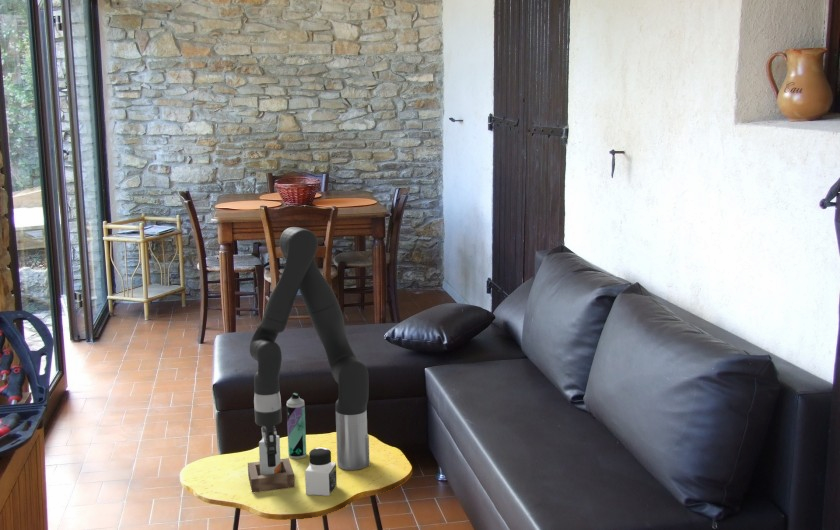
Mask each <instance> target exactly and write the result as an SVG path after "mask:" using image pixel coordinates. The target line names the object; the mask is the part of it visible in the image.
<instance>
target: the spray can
mask: <svg viewBox="0 0 840 530" xmlns="http://www.w3.org/2000/svg"><path fill="white" fill-rule="evenodd" d="M305 406H306V405H305V400H304V399H303V398H300V396H299V393H297V392H293V393H292V395H291V397H290V398H289V399H288V400H286V427H287V446H288V447H287V449H288V458H289V459H295V460H296V459H299V460H300V459H303V458H306V456H307V435H306V409H305Z"/></svg>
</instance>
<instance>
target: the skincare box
mask: <svg viewBox="0 0 840 530" xmlns="http://www.w3.org/2000/svg"><path fill="white" fill-rule="evenodd" d="M280 438H281V437H280V435H278V434H277V435H276V441H277V445H276V451H277V453H276V454H275V458H276V466H275V467H268V460H267V454H266V452H267V449H266V447H265V446H264V437H263V438H261V440H260V441H259V442H258V451H259V452H258V456H259V462H260V475H268V474H276V473H281V464H280V459H281V446H280V445H281V442H280ZM266 443H267V441H266ZM269 450H274V449H273V447H270V448H269Z"/></svg>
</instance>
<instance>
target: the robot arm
mask: <svg viewBox="0 0 840 530" xmlns="http://www.w3.org/2000/svg"><path fill="white" fill-rule="evenodd" d="M318 246H319V243H318V238H317V236H316V235H315V234H314V233H313V232H312V231H311V230H309V229H306V228H302V227H300V226H299V227H298V226H291V227H288V228H286V229H285V230H283V232H282V233H281V234H280V238H279V249H280V251H281V253H282V255H283V257H284V258H285V260H286V261H285V264H284V268H283V270H282V273H281V275H280V278H279V280H278V282H277V284H276V285H275V287H274V289H273V290H272V291H271V293H270V296H269V298H268V301H267V302H266V305H265V308H264V312H263V314H262V315H263V316H262V318H261V322H260V323H259V325H258V327H257V329H256V330H255V331H254V333H253V336H252V338H251V340H250V344H249V354H250V356H251V357H252V359H254V360H255V361H257V363H258V365H257V366H258V367H257V371H256V372H255V373H254V376H253V387H254V388H253V389H254V397H253V404H254V405H253V406H254V422H255V425H257V426H259V427H261V437H262V438H263V437H264V446H265V447H266V449H267V452H266V454H267V460H268V467H275V466H276V458H275V454H276V453H277V451H276V445H277V441H276V435H278V433H277V429H276V426H277V425H279V424H280V423H282V420H283V416H282V414H283V413H282V402H281V401H282V398H281V393H280V372H281V366H282V359H283V358H282V350H281V347H280V345H279V344H278V343H277V342H276V339H277V338H278V336H279V333H283V332H284V331H285V329H286V327H287V325H288V321H289V319H290V316H291V312H292V310H293V309H292V308H293V306H294V304H295V301H296V297H297V295H298V292H300V294H301V295H300V296H301V298H302V300H303V303H304V306H305V308H306V312H307V314H308V317H309V319H310V321H311V324H312V325H313V328H314V330H315V332H316V334H317V336H318V339H319V340H320V342H321V343H322V346H323V348H324V351H325V355H326V358H327V361H328V365H329V368H330V373H331V375H332V378H333V380H334V381H335V382H336V384H338V398H337V400H336V401H335V426H336V427H335V428H336V429H335V431H336V432H335V433H336V461H337V462H336V466H337V467H338V468H340V469H342V470H346V471H357V470H362V469H363V468H366V467H370V466H371V465H370V436H369V434H368V418H367V417H368V415H367V414H368V413H367V407H368V406H367V405H368V402H369V398H370V397H369V394H370V393H369V392H370V391H369V390H370V389H369V386H370V385H369V384H370V383H369V380H370V378H369V371H368V368H367V366H366V365H365V364H364V362H362V361H361V360H359V358H357V356H356V355H355V353H354V351H353V349H352V346H351V345H350V342H349V341H348V338H347V334H346V327H345V320H344V319H345V318H344V315H343V311H342V309H341V305H340V304H339V301H338V299H337V297H336V296H337V295H336V294H335V292H334V290H333V289H332V287H331V285H330V284H329V283H328V281H327V279H326V278H325V276H324V275H323V273H322V272H321V270H320V269H319V267H318V265H317V263H316V260H315V259H316V258H315V255H316V254H317V251H318V248H319V247H318ZM262 438H261V439H262ZM266 441H267V443H266ZM270 447H273V449H274V450H269V448H270Z"/></svg>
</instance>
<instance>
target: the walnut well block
mask: <svg viewBox="0 0 840 530" xmlns="http://www.w3.org/2000/svg"><path fill="white" fill-rule="evenodd" d="M280 464H281V473H276V474H268V475H260V461H253V462H252V461H251V462H247V476H248V480H249V487H250V490H252V491H251V493H252V492H255V493H260V492H259V491H263V492H269V491H279V490H284V489H294V488H296V487H295V486H296V485H295V484H296V483H295V473H294V470H293V467H292V464H291V461H290V457H288V458H280Z"/></svg>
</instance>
